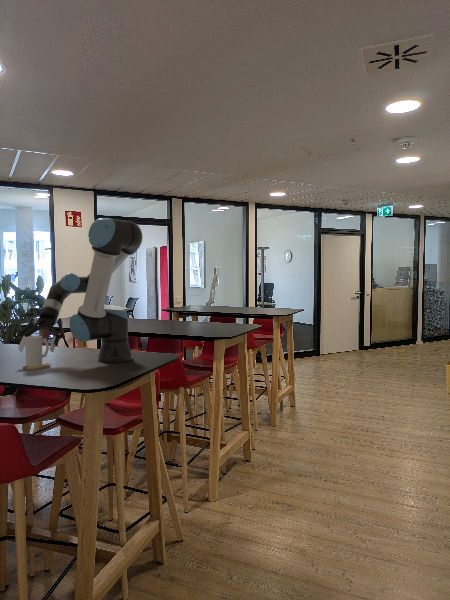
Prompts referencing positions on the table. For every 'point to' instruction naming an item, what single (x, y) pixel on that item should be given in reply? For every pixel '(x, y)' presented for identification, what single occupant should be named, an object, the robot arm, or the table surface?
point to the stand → (37, 367)
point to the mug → (35, 350)
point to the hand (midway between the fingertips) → (35, 350)
